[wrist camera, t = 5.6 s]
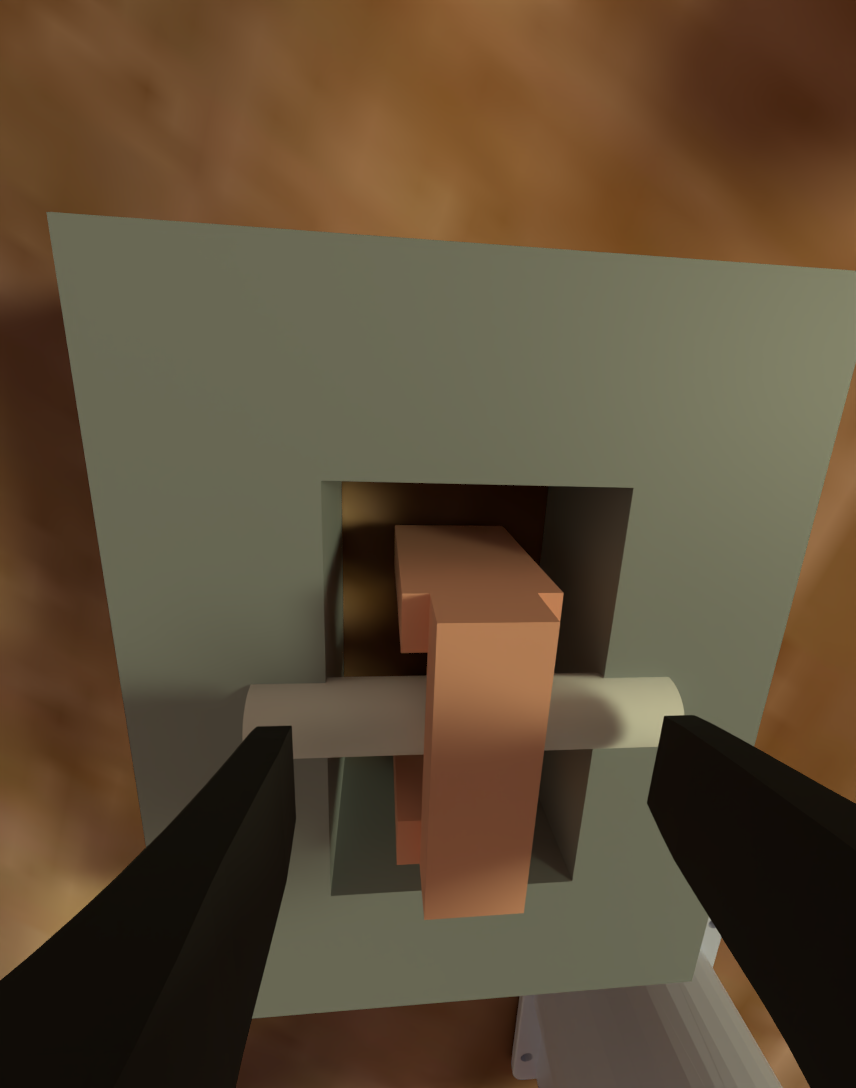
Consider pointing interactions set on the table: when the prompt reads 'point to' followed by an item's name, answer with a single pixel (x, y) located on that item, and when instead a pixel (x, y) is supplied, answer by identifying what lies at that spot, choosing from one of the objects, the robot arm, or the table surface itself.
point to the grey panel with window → (452, 458)
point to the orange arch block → (474, 714)
